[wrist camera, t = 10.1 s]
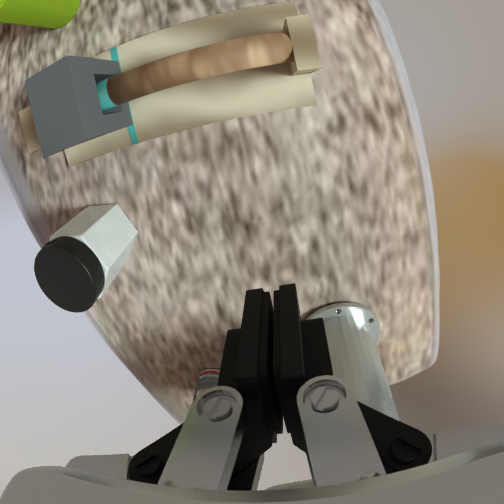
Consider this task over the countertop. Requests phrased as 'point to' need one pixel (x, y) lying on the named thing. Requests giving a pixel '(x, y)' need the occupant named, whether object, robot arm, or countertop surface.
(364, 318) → the robot arm
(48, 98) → the collar
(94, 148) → the pipe rig
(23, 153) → the countertop surface
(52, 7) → the soap dispenser
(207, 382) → the pill bottle
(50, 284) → the jar
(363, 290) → the countertop surface
